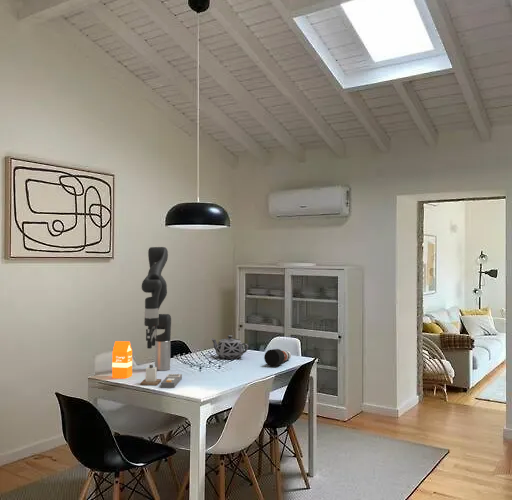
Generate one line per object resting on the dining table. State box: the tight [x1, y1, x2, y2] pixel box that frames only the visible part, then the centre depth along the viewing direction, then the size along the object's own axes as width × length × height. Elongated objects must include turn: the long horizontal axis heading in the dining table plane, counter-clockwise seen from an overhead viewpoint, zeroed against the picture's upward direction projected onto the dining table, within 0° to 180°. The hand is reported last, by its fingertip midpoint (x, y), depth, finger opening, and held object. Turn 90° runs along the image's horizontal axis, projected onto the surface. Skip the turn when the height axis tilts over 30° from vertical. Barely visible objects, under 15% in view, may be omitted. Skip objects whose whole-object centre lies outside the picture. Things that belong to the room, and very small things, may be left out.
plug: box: [145, 364, 158, 382], centre depth 296 cm, size 4×5×8 cm
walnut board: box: [139, 378, 162, 386], centre depth 296 cm, size 10×9×1 cm
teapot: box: [210, 335, 249, 360], centre depth 376 cm, size 19×31×15 cm, turn 60°
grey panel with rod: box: [160, 373, 183, 389], centre depth 300 cm, size 30×7×3 cm, turn 177°
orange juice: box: [111, 340, 133, 379], centre depth 312 cm, size 8×9×20 cm
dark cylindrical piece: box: [263, 348, 292, 367], centre depth 358 cm, size 10×34×10 cm, turn 157°
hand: (151, 347), depth 296 cm, fingers open, 8 cm apart
